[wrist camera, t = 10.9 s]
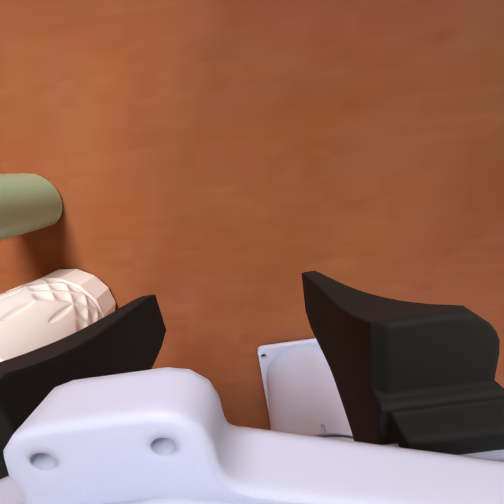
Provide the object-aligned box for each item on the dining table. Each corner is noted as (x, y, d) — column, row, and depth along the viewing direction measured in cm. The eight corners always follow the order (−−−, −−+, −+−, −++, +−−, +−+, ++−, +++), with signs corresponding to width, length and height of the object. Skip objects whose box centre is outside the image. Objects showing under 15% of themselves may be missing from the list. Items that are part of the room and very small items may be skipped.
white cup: (98, 353, 24) (3, 472, 15) (18, 310, 23) (-146, 411, 13) (139, 294, 23) (60, 387, 13) (55, 243, 21) (-106, 305, 11)
